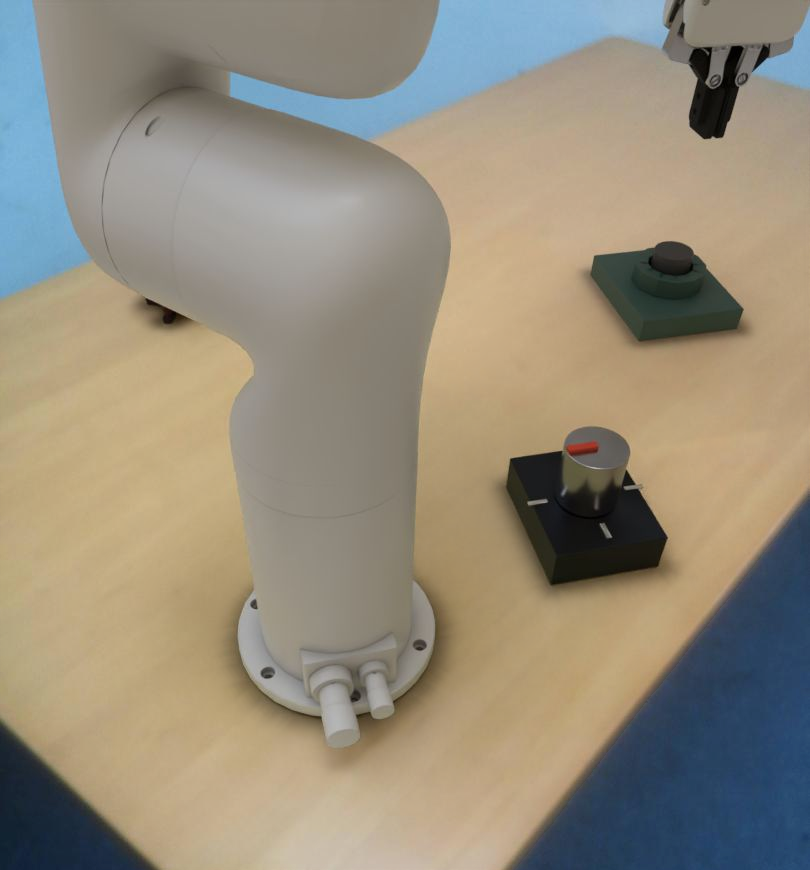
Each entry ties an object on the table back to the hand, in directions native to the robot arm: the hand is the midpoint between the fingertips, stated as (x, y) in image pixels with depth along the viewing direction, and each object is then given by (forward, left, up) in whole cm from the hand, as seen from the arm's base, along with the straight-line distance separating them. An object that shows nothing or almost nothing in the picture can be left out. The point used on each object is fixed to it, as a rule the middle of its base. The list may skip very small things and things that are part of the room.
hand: (705, 131), depth 73 cm
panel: (-27, +19, -16) cm, 37 cm away
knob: (-27, +19, -13) cm, 36 cm away
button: (0, 0, -12) cm, 12 cm away
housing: (0, 0, -16) cm, 16 cm away
